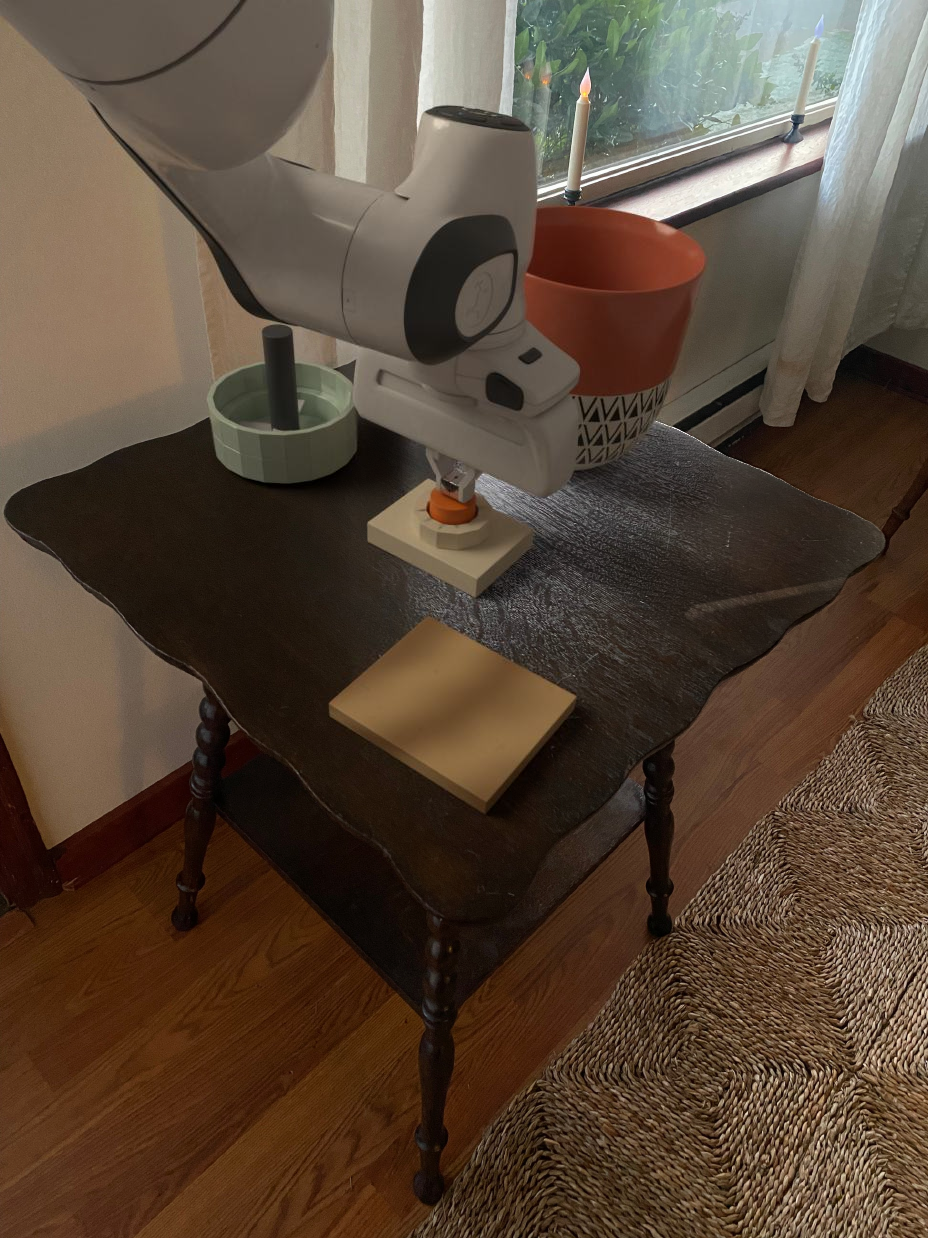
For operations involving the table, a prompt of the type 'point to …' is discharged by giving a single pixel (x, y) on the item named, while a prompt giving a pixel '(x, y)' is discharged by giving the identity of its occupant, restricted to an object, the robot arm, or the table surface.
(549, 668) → the table surface
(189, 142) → the robot arm
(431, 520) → the base
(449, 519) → the release button
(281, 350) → the blade
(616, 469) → the table surface
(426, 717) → the cutting board
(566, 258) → the planter
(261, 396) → the processor bowl
